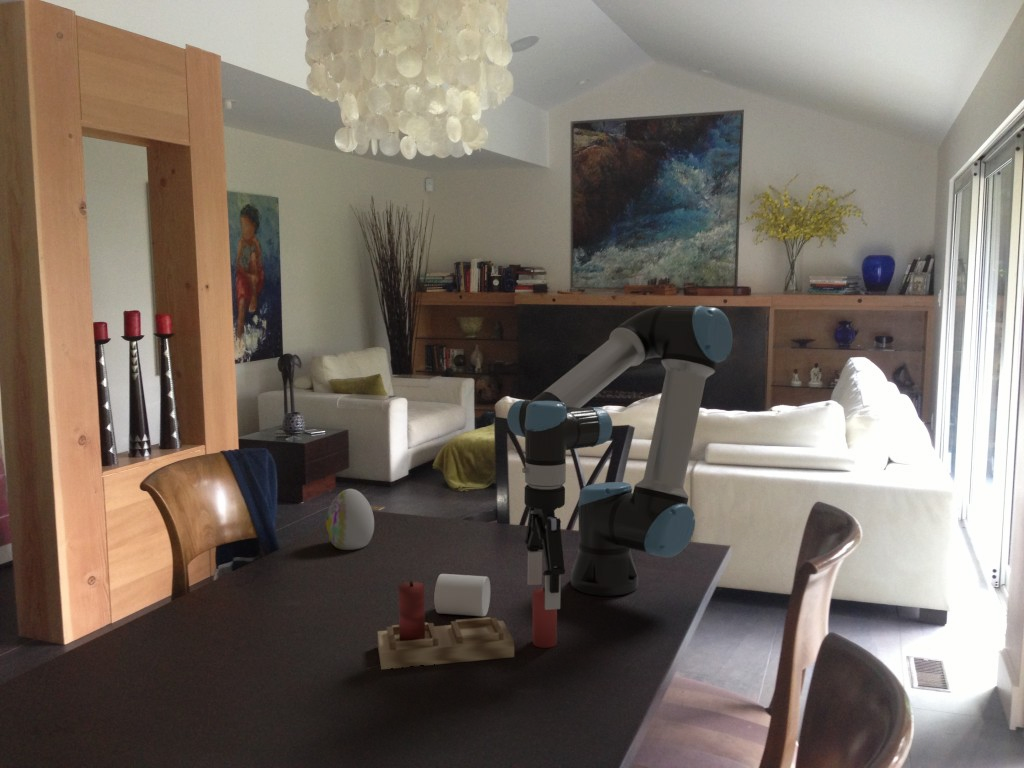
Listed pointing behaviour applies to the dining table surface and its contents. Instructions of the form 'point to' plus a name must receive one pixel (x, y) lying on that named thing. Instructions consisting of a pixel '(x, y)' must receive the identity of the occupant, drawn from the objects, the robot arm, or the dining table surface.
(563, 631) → the dining table surface
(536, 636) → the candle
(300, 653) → the dining table surface
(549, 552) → the robot arm
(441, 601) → the mug
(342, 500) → the decorative egg
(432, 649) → the oak candlestand
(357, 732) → the dining table surface
